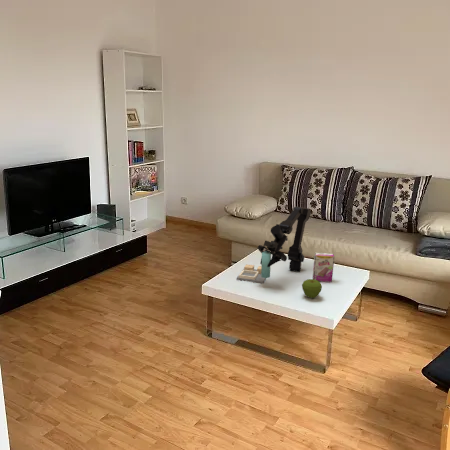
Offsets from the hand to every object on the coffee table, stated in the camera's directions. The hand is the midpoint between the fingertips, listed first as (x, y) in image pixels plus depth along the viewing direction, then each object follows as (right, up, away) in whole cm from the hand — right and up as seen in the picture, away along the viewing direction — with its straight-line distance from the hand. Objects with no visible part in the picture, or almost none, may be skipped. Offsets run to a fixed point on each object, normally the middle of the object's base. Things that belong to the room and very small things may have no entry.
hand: (264, 265), depth 272 cm
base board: (-5, -8, +18) cm, 21 cm away
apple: (+25, -17, -9) cm, 31 cm away
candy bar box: (+35, -10, +14) cm, 40 cm away
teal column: (+1, -6, +3) cm, 7 cm away
